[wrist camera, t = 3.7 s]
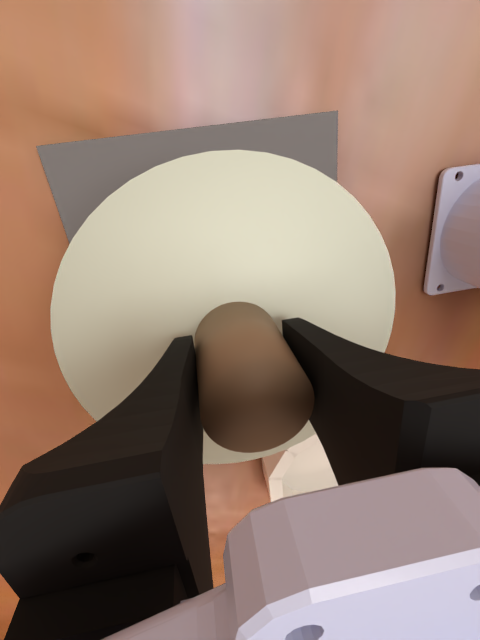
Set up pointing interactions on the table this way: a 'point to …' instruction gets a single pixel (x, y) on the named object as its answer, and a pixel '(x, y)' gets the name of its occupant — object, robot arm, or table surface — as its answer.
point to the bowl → (298, 470)
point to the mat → (176, 156)
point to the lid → (220, 291)
